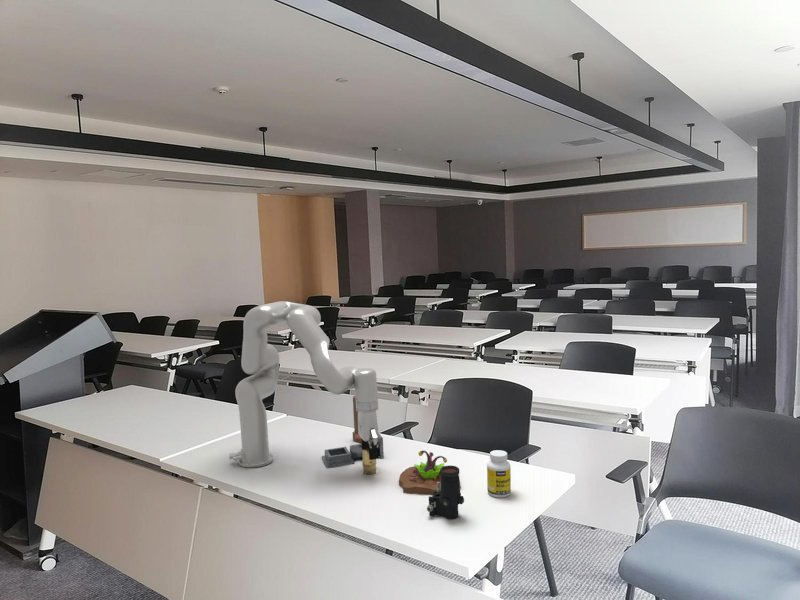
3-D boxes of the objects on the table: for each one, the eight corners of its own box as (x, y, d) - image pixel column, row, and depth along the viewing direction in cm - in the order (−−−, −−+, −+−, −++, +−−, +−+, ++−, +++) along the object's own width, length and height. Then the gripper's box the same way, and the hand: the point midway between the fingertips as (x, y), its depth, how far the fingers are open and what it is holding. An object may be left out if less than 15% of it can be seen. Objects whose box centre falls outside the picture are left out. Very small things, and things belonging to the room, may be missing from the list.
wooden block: (371, 446, 222) (368, 401, 220) (352, 440, 229) (350, 396, 227) (377, 444, 224) (375, 399, 223) (359, 438, 232) (357, 394, 230)
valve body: (326, 468, 202) (325, 445, 201) (321, 458, 212) (320, 436, 211) (384, 459, 208) (383, 437, 208) (377, 450, 218) (376, 429, 217)
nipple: (364, 476, 194) (363, 453, 193) (361, 471, 198) (360, 449, 197) (378, 474, 195) (377, 451, 194) (374, 469, 200) (373, 447, 199)
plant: (400, 471, 197) (398, 440, 196) (457, 470, 197) (456, 438, 196) (398, 497, 178) (396, 462, 176) (461, 496, 177) (460, 460, 176)
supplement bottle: (495, 500, 172) (494, 458, 171) (483, 491, 179) (482, 451, 178) (515, 495, 175) (514, 454, 174) (502, 486, 182) (501, 447, 180)
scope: (436, 460, 169) (468, 465, 164) (437, 505, 170) (469, 512, 166) (424, 471, 162) (457, 476, 157) (426, 518, 163) (458, 524, 159)
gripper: (350, 400, 201) (353, 448, 203) (362, 413, 185) (366, 464, 186) (371, 397, 203) (374, 444, 205) (384, 410, 187) (388, 461, 189)
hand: (370, 454), depth 196 cm, fingers open, 9 cm apart
